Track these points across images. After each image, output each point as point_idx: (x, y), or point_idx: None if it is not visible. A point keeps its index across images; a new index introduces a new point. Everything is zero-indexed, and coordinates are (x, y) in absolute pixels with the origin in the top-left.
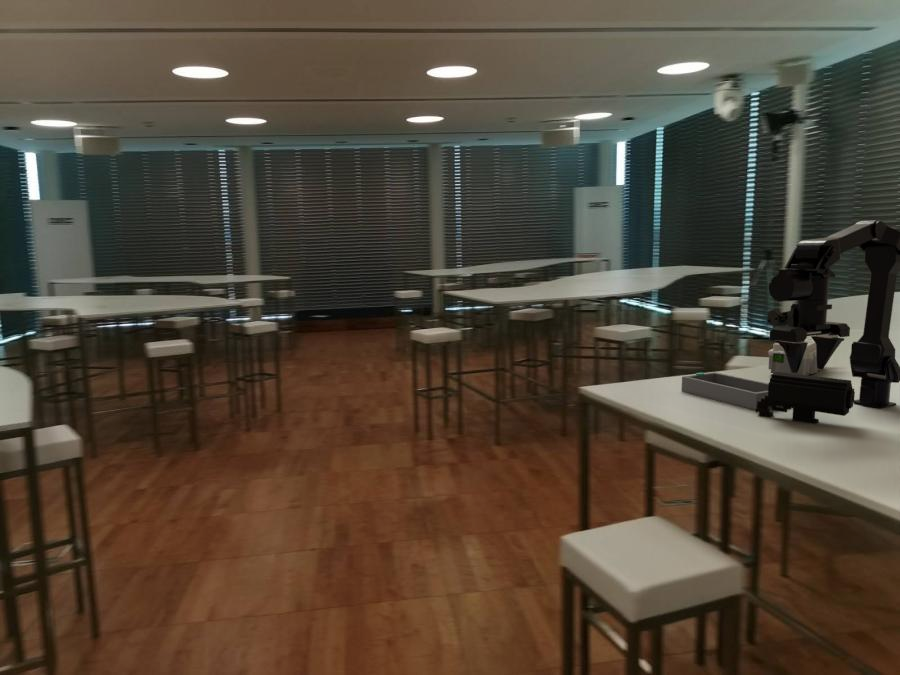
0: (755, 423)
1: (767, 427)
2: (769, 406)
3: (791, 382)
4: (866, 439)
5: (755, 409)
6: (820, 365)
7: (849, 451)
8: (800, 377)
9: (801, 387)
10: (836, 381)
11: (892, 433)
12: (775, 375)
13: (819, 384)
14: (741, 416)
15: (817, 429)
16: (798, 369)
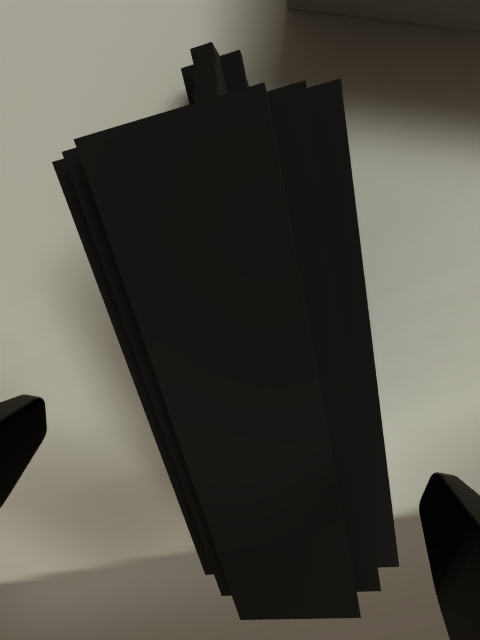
0: None
1: (56, 245)
2: (412, 20)
3: (131, 326)
4: None
5: (288, 2)
6: (438, 528)
7: (61, 499)
8: (182, 384)
9: (138, 388)
10: (249, 574)
11: None
12: (91, 185)
13: (183, 489)
14: (104, 48)
15: None
16: (22, 471)
